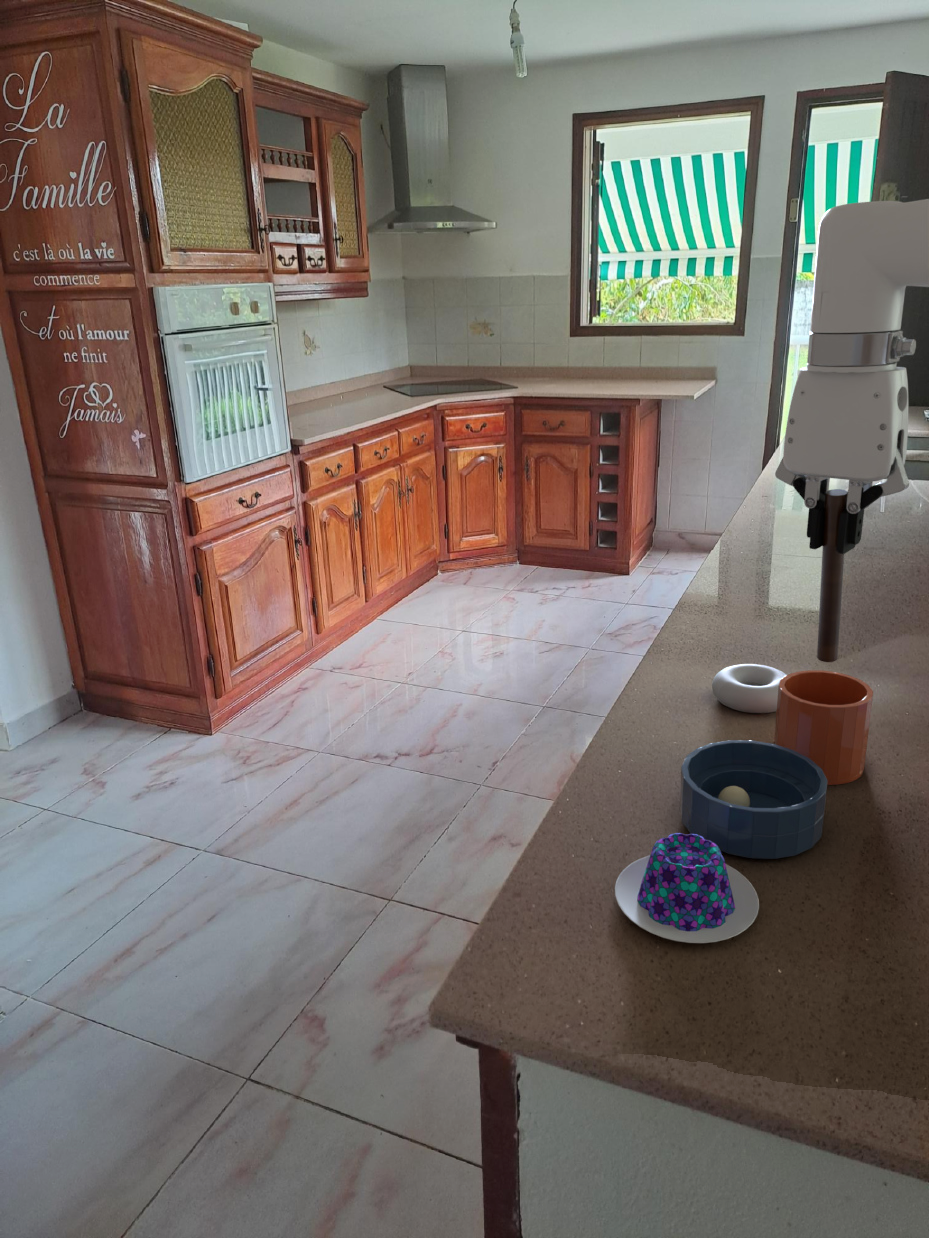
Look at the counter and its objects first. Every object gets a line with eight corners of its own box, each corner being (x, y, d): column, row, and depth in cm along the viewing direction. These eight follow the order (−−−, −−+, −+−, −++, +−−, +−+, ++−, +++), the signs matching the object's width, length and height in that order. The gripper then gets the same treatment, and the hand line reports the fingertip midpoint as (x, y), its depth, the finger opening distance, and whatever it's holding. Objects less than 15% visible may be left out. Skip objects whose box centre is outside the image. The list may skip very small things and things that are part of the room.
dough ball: (745, 824, 86) (761, 800, 85) (725, 823, 85) (741, 799, 84) (726, 803, 89) (742, 780, 87) (706, 801, 87) (722, 778, 86)
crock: (876, 758, 96) (886, 683, 93) (843, 794, 90) (852, 715, 87) (794, 734, 102) (801, 663, 99) (758, 766, 96) (763, 691, 93)
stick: (841, 658, 91) (852, 492, 83) (827, 664, 90) (837, 497, 83) (827, 651, 93) (836, 487, 85) (812, 657, 92) (820, 492, 84)
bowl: (843, 816, 86) (849, 767, 84) (785, 882, 77) (789, 829, 75) (720, 773, 95) (722, 727, 93) (654, 828, 86) (655, 779, 84)
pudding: (612, 943, 71) (613, 890, 69) (616, 855, 82) (616, 806, 80) (767, 956, 69) (772, 901, 67) (749, 863, 80) (753, 814, 78)
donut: (810, 702, 110) (744, 676, 117) (813, 677, 108) (746, 652, 116) (760, 727, 104) (694, 698, 112) (763, 701, 103) (695, 674, 111)
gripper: (960, 349, 77) (931, 551, 83) (785, 348, 87) (771, 528, 94) (933, 357, 72) (904, 571, 78) (750, 355, 82) (738, 544, 89)
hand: (832, 546), depth 86 cm, fingers closed on stick, 2 cm apart
